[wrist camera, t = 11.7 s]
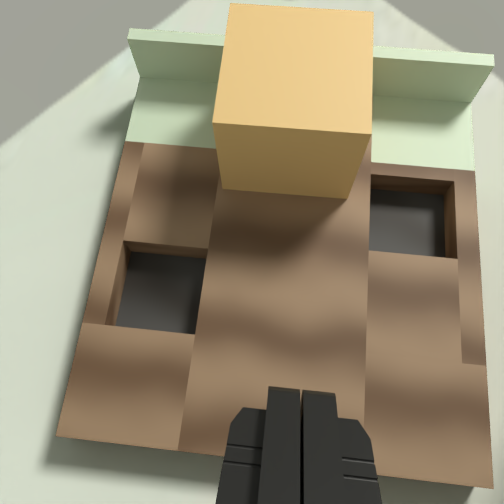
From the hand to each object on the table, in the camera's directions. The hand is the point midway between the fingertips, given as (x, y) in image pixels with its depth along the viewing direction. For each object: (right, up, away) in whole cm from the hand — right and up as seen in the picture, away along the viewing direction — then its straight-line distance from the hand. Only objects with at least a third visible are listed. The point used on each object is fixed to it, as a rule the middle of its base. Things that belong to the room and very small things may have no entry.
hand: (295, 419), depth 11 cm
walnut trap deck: (+2, +4, +25) cm, 25 cm away
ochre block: (+2, +12, +25) cm, 28 cm away
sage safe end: (+3, +13, +28) cm, 31 cm away
